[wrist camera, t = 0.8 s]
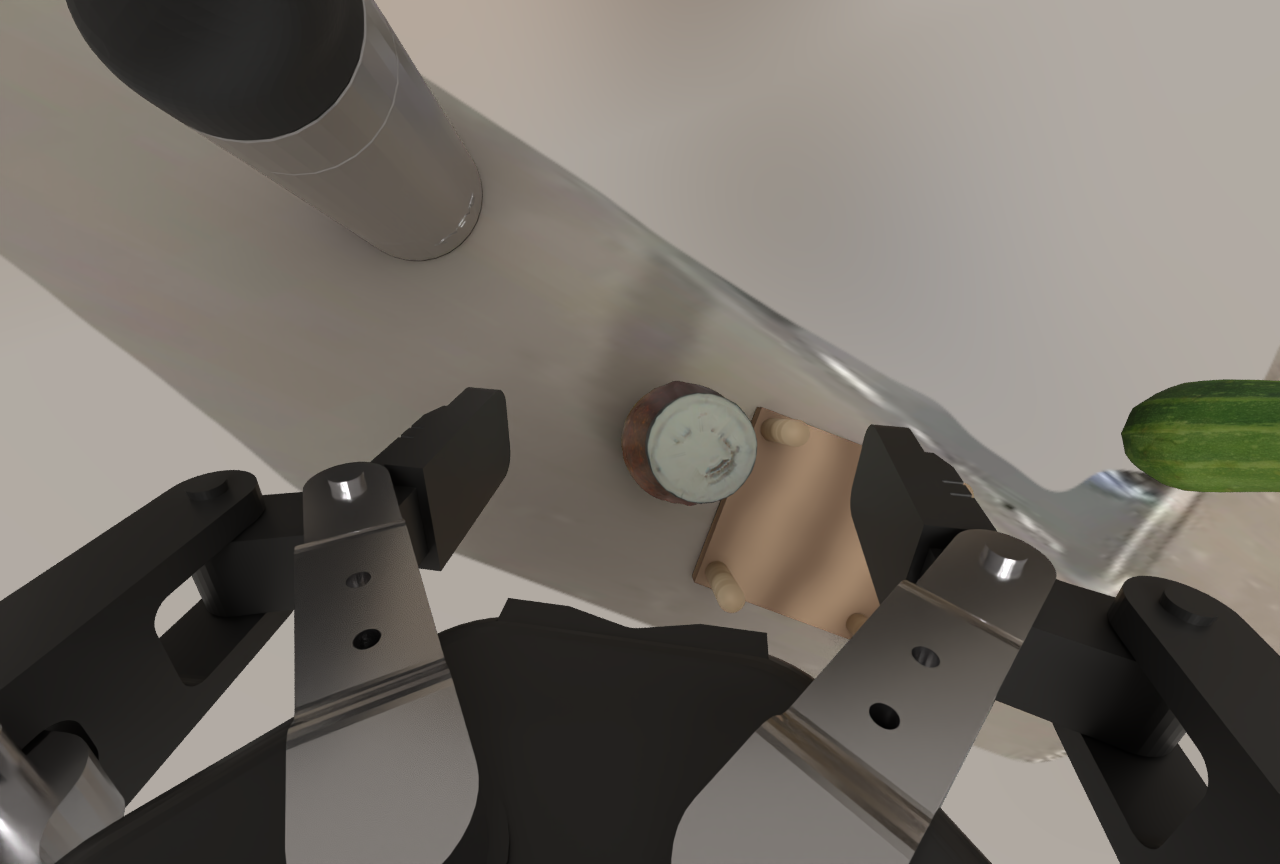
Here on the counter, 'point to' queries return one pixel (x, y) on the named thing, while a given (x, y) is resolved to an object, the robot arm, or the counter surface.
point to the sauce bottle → (688, 444)
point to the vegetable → (1209, 436)
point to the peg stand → (792, 531)
